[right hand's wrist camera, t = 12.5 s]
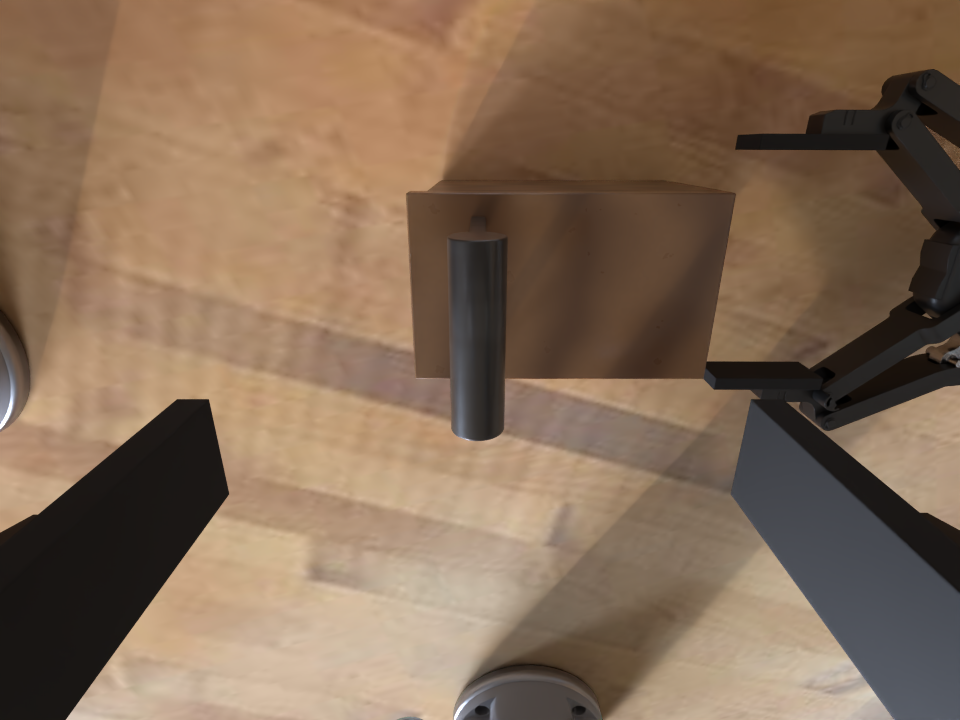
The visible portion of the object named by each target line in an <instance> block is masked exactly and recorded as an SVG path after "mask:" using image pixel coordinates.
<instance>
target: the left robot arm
mask: <svg viewBox="0 0 960 720" xmlns="http://www.w3.org/2000/svg"><path fill="white" fill-rule="evenodd" d="M925 126H927V127H928V128H930V129H931V130H933V131H934V132H936V133H937V134H939V135H941V136H942V137H944V138H945V139H947V140H948V141H950V142H951V143H953V144H954V145H956V146H957V147H959V148H960V86H959V85H958V84H956V83H955V82H954V81H952V80H951V79H949V78H948V77H946V76H945V75H943V74H942V73H940V72H939V71H937V70H934V69H930V70H924V71H918V72H912V73H907V74H901V75H896V76H892V77H890V78H888V79H887V80H886V81H885V82H884V84H883V86H882V98H881V100H880V101H879V103H878V104H877V105H876V106H875V107H874V108H872V109H871V110H830V111H820V112H817V113H815V114H812V115H810V116H809V120H808V125H807V130H806V134H748V135H738V137H737V143H736V149H735V150H876V151H877V152H878V154H879V155H880V156H881V157H882V158H883V160H884V161H885V162H886V163H887V164H888V166H889V167H890V168H891V169H892V171H893V172H894V173H895V174H896V175H897V177H898V178H899V179H900V180H901V181H902V183H903V184H904V185H905V186H906V187H907V189H908V190H909V191H910V192H911V194H912V195H913V196H914V197H915V198H916V200H917V201H918V202H919V203H920V204H921V206H922V207H923V209H922V210H921V212H922V214H923V215H924V216H925V218H926V219H927V220H928V221H929V222H930V224H931V225H932V226H933V227H934V228H935V230H936V232H935V233H934V234H933V235H932V237H931V238H930V239H925V240H924V243H923V246H922V249H921V254H920V266H919V268H918V270H917V271H916V273H915V275H914V276H913V278H912V281H911V284H910V287H909V290H908V291H911V292H913V296H912V297H911V298H909V299H907V300H906V301H904V302H903V303H901V304H900V305H898V306H897V307H895V308H894V309H892V310H891V311H890V313H889V314H890V316H889V318H887V319H886V320H884V321H883V322H881V323H880V324H878V325H877V326H875V327H874V328H872V329H871V330H869V331H867V332H866V333H864V334H863V335H861V336H860V337H858V338H857V339H855V340H854V341H852V342H850V343H849V344H847V345H846V346H844V347H843V348H841V349H840V350H838V351H837V352H835V353H833V354H832V355H830V356H829V357H827V358H826V359H824V360H823V361H821V362H819V363H818V364H816V365H815V366H813V367H812V368H810V369H808V368H807V367H805V366H804V365H802V364H801V363H799V362H706V367H705V373H704V378H703V379H704V380H705V381H706V382H707V383H708V384H709V385H710V386H711V387H712V388H713V389H714V390H751V391H752V392H753V393H754V394H755V395H757V396H758V397H759V398H760V399H783V400H784V401H785V402H801V403H800V405H799V409H800V411H801V412H802V413H804V414H805V415H806V416H807V417H809V418H810V419H811V420H812V421H813V422H815V423H816V424H817V425H818V426H820V427H821V428H822V429H824V430H826V431H830V430H834V429H836V428H839V427H841V426H844V425H847V424H849V423H852V422H854V421H857V420H859V419H862V418H865V417H867V416H870V415H872V414H875V413H878V412H880V411H883V410H885V409H888V408H891V407H893V406H896V405H898V404H901V403H903V402H906V401H909V400H911V399H914V398H916V397H919V396H922V395H924V394H927V393H929V392H932V391H935V390H937V389H940V388H942V387H945V386H955V385H960V170H959V169H958V168H957V166H956V165H955V164H954V163H953V161H952V160H951V159H950V157H949V156H948V155H947V154H946V152H945V151H944V150H943V148H942V147H941V146H940V145H939V143H938V142H937V141H936V139H935V138H934V137H933V136H932V134H931V133H930V132H929V130H928V129H927V128H926V127H925ZM925 313H927V314H928V315H929V316H930V317H931V318H932V319H929V318H927V317H924V316H922V315H923V314H925ZM950 337H951V338H950ZM948 338H950V339H949V341H948V342H947V343H945V344H944V345H941V346H938V347H933V346H930V347H928V348H927V349H926V353H925V354H919V355H915V356H911V357H908V358H906V357H907V356H909V355H911V354H912V353H914V352H915V351H917V350H919V349H920V348H922V347H923V346H925V345H927V344H937V343H941V342H943V341H945V340H946V339H948ZM904 358H905V359H904ZM397 720H422V719H420V718H417V717H404V718H400V719H397ZM453 720H602V716H601V712H600V707H599V703H598V700H597V698H596V696H595V694H594V693H593V692H592V690H591V689H590V688H589V687H588V686H587V685H586V684H585V683H584V682H583V681H581V680H580V679H578V678H577V677H575V676H573V675H571V674H569V673H567V672H564V671H561V670H558V669H555V668H550V667H545V666H535V665H524V666H513V667H508V668H503V669H499V670H496V671H493V672H491V673H488V674H486V675H484V676H482V677H480V678H479V679H477V680H476V681H474V682H473V683H471V684H470V685H469V686H468V687H467V688H466V689H465V690H464V691H463V692H462V693H461V695H460V696H459V698H458V700H457V702H456V704H455V707H454V713H453Z"/></svg>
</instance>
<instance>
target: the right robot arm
mask: <svg viewBox="0 0 960 720" xmlns="http://www.w3.org/2000/svg"><path fill="white" fill-rule="evenodd" d="M29 390H30V371H29V365H28V361H27V357H26V354H25V351H24V348H23V346H22V343H21V341H20V339H19V337H18V335H17V333H16V332H15V330H14V328H13V327H12V325H11V324H10V322H9V321H8V320H7V318H6V317H5V315H4V314H3V313H2V312H1V311H0V432H1V431H2V430H4V429H5V428H7V427H8V426H10V425H11V424H12V423H13V422H14V421H15V420H16V419H17V418H18V417H19V415H20V414H21V412H22V411H23V409H24V407H25V404H26V402H27V399H28V395H29ZM228 495H229V491H228V486H227V482H226V477H225V472H224V468H223V463H222V458H221V454H220V449H219V444H218V440H217V435H216V431H215V426H214V421H213V417H212V412H211V407H210V403H209V399H177V400H176V401H175V402H173V403H172V404H171V405H170V406H169V407H167V408H166V409H165V410H164V411H163V412H161V413H160V414H159V415H158V416H156V417H155V418H154V419H153V420H152V421H150V422H149V423H148V424H147V425H146V426H144V427H143V428H142V429H141V430H140V431H138V432H137V433H136V434H135V435H134V436H132V437H131V438H130V439H129V440H128V441H126V442H125V443H124V444H123V445H122V446H120V447H119V448H118V449H117V450H115V451H114V452H113V453H112V454H111V455H109V456H108V457H107V458H106V459H105V460H103V461H102V462H101V463H100V464H99V465H97V466H96V467H95V468H94V469H93V470H91V471H90V472H89V473H88V474H87V475H85V476H84V477H83V478H82V479H81V480H79V481H78V482H77V483H76V484H75V485H73V486H72V487H71V488H70V489H68V490H67V491H66V492H65V493H64V494H62V495H61V496H60V497H59V498H58V499H56V500H55V501H54V502H53V503H52V504H50V505H49V506H48V507H47V508H46V509H44V510H43V511H42V512H41V513H40V514H38V515H32V516H30V517H28V518H26V519H25V520H23V521H21V522H19V523H17V524H15V525H14V526H12V527H10V528H8V529H6V530H4V531H3V532H1V533H0V720H66V719H67V717H68V716H69V714H70V713H71V712H72V710H73V709H74V707H75V706H76V705H77V703H78V702H79V701H80V699H81V698H82V696H83V695H84V694H85V692H86V691H87V690H88V688H89V687H90V685H91V684H92V683H93V681H94V680H95V679H96V677H97V676H98V674H99V673H100V672H101V670H102V669H103V667H104V666H105V665H106V663H107V662H108V661H109V659H110V658H111V656H112V655H113V654H114V652H115V651H116V650H117V648H118V647H119V645H120V644H121V643H122V641H123V640H124V639H125V637H126V636H127V634H128V633H129V632H130V630H131V629H132V627H133V626H134V625H135V623H136V622H137V621H138V619H139V618H140V616H141V615H142V614H143V612H144V611H145V610H146V608H147V607H148V605H149V604H150V603H151V601H152V600H153V599H154V597H155V596H156V594H157V593H158V592H159V590H160V589H161V587H162V586H163V585H164V583H165V582H166V581H167V579H168V578H169V576H170V575H171V574H172V572H173V571H174V570H175V568H176V567H177V565H178V564H179V563H180V561H181V560H182V559H183V557H184V556H185V554H186V553H187V552H188V550H189V549H190V547H191V546H192V545H193V543H194V542H195V541H196V539H197V538H198V536H199V535H200V534H201V532H202V531H203V530H204V528H205V527H206V525H207V524H208V523H209V521H210V520H211V519H212V517H213V516H214V514H215V513H216V512H217V510H218V509H219V507H220V506H221V505H222V503H223V502H224V501H225V499H226V498H227V496H228ZM731 495H732V496H733V498H734V499H735V501H736V502H737V503H738V505H739V506H740V507H741V509H742V510H743V512H744V513H745V514H746V516H747V517H748V519H749V520H750V521H751V523H752V524H753V525H754V527H755V528H756V530H757V531H758V532H759V534H760V535H761V536H762V538H763V539H764V541H765V542H766V543H767V545H768V546H769V547H770V549H771V550H772V552H773V553H774V554H775V556H776V557H777V559H778V560H779V561H780V563H781V564H782V565H783V567H784V568H785V570H786V571H787V572H788V574H789V575H790V576H791V578H792V579H793V581H794V582H795V583H796V585H797V586H798V587H799V589H800V590H801V592H802V593H803V594H804V596H805V597H806V599H807V600H808V601H809V603H810V604H811V605H812V607H813V608H814V610H815V611H816V612H817V614H818V615H819V616H820V618H821V619H822V621H823V622H824V623H825V625H826V626H827V627H828V629H829V630H830V632H831V633H832V634H833V636H834V637H835V639H836V640H837V641H838V643H839V644H840V645H841V647H842V648H843V650H844V651H845V652H846V654H847V655H848V656H849V658H850V659H851V661H852V662H853V663H854V665H855V666H856V667H857V669H858V670H859V672H860V673H861V674H862V676H863V677H864V679H865V680H866V681H867V683H868V684H869V685H870V687H871V688H872V690H873V691H874V692H875V694H876V695H877V696H878V698H879V699H880V701H881V702H882V703H883V705H884V706H885V707H886V709H887V710H888V712H889V713H890V714H891V716H892V717H893V719H894V720H960V530H958V529H956V528H954V527H952V526H951V525H949V524H947V523H945V522H943V521H941V520H939V519H938V518H936V517H934V516H932V515H930V514H928V513H919V512H918V511H917V510H916V509H914V508H913V507H912V506H911V505H910V504H908V503H907V502H906V501H905V500H904V499H902V498H901V497H900V496H899V495H898V494H896V493H895V492H894V491H893V490H892V489H890V488H889V487H888V486H887V485H885V484H884V483H883V482H882V481H881V480H879V479H878V478H877V477H876V476H875V475H873V474H872V473H871V472H870V471H869V470H867V469H866V468H865V467H864V466H863V465H861V464H860V463H859V462H858V461H857V460H855V459H854V458H853V457H852V456H851V455H849V454H848V453H847V452H846V451H845V450H843V449H842V448H841V447H840V446H838V445H837V444H836V443H835V442H834V441H832V440H831V439H830V438H829V437H828V436H826V435H825V434H824V433H823V432H822V431H820V430H819V429H818V428H817V427H816V426H814V425H813V424H812V423H811V422H810V421H808V420H807V419H806V418H805V417H804V416H802V415H801V414H800V413H799V412H797V411H796V410H795V409H794V408H793V407H791V406H790V405H789V404H788V403H787V402H785V401H784V400H783V399H751V403H750V407H749V412H748V417H747V421H746V426H745V431H744V435H743V440H742V444H741V449H740V454H739V458H738V463H737V468H736V472H735V477H734V482H733V486H732V491H731Z"/></svg>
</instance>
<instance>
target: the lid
mask: <svg viewBox="0 0 960 720" xmlns="http://www.w3.org/2000/svg"><path fill="white" fill-rule="evenodd" d="M735 196H736V194H735V193H732V192H726V191H410V192H408V193H406V205H407V224H408V244H409V264H410V284H411V304H412V323H413V343H414V363H415V378H416V379H450V390H451V429H452V431H453V433H454V434H455V435H456V436H458V437H460V438H463V439H466V440H471V441H484V440H489V439H493V438H495V437H497V436H499V435H500V434H501V433H502V432H503V430H504V407H505V379H703V378H704V373H705V367H706V362H707V356H708V350H709V344H710V339H711V333H712V327H713V322H714V316H715V310H716V304H717V299H718V293H719V287H720V281H721V276H722V270H723V264H724V259H725V253H726V247H727V241H728V236H729V230H730V224H731V219H732V213H733V207H734V201H735Z"/></svg>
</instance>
